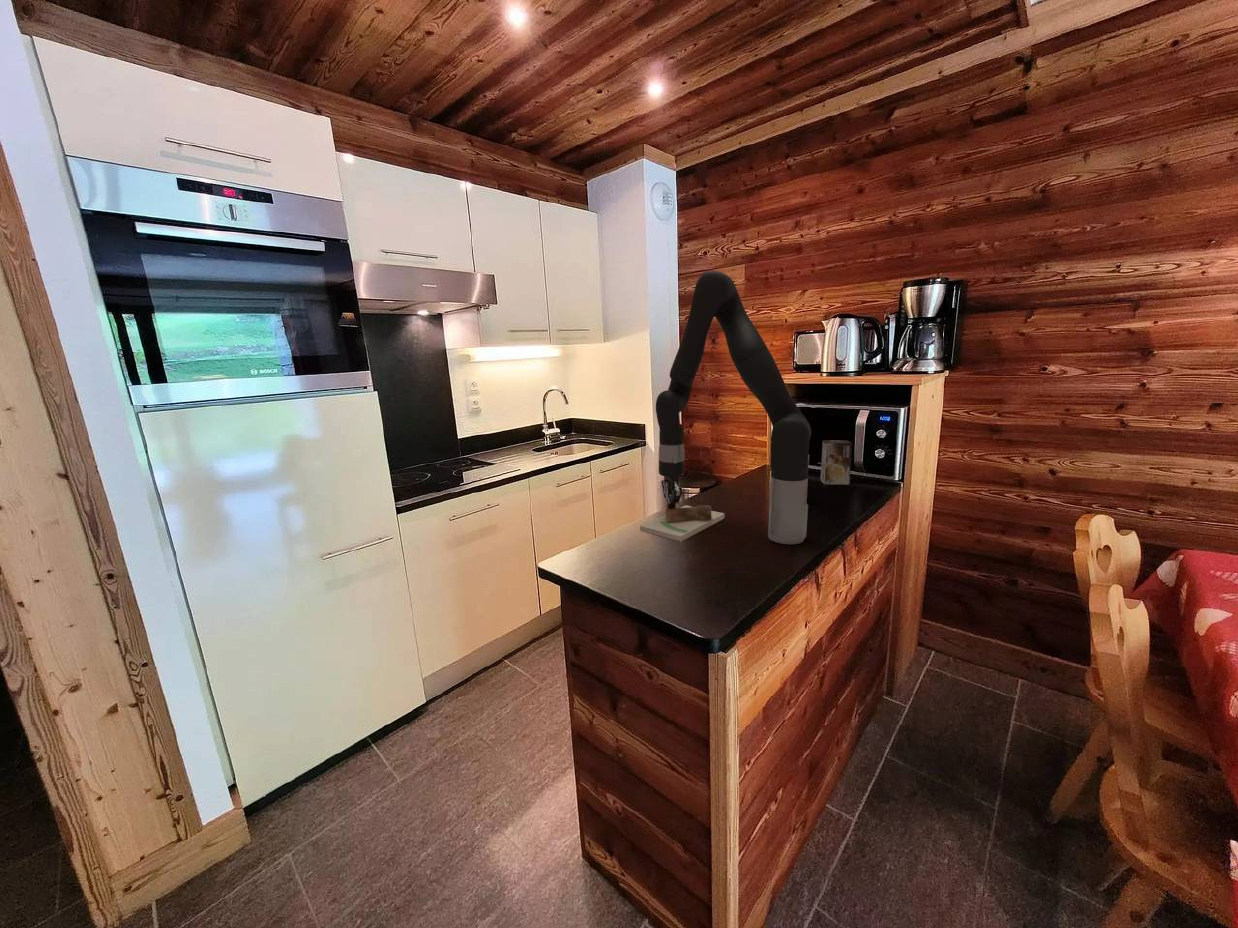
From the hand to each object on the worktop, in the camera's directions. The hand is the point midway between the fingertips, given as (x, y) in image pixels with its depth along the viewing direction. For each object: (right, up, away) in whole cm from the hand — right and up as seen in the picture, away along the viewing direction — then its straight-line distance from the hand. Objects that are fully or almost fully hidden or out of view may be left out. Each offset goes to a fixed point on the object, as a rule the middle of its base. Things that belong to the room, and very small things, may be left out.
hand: (671, 514), depth 144 cm
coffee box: (+67, +8, +40) cm, 78 cm away
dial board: (+4, -3, -1) cm, 5 cm away
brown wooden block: (+5, -1, -2) cm, 5 cm away
